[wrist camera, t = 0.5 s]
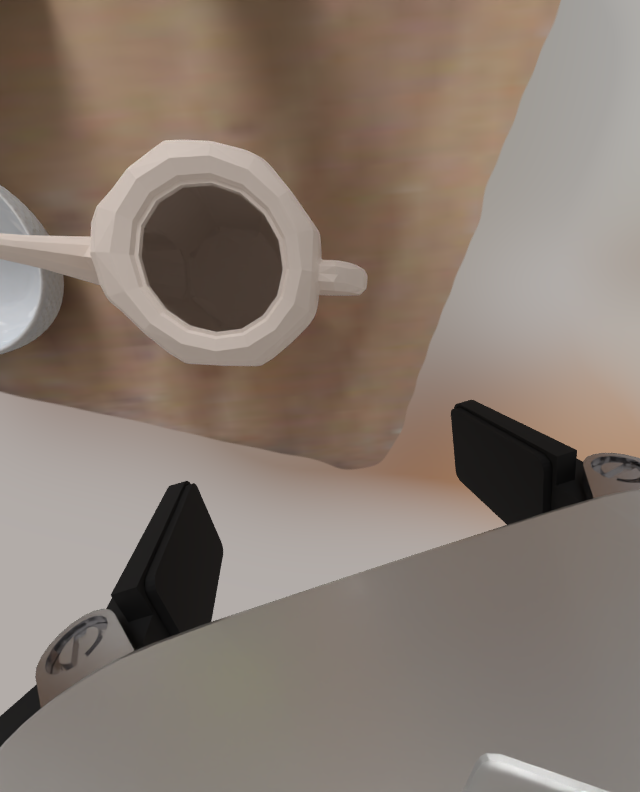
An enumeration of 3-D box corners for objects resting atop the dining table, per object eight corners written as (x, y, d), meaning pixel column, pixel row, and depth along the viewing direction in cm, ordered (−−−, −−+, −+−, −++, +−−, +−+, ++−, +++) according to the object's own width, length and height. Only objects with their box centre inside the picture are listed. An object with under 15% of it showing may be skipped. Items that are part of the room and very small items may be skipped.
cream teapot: (92, 189, 31) (-144, 38, 13) (343, 219, 36) (417, 138, 18) (112, 341, 35) (-44, 380, 18) (332, 350, 40) (384, 389, 22)
